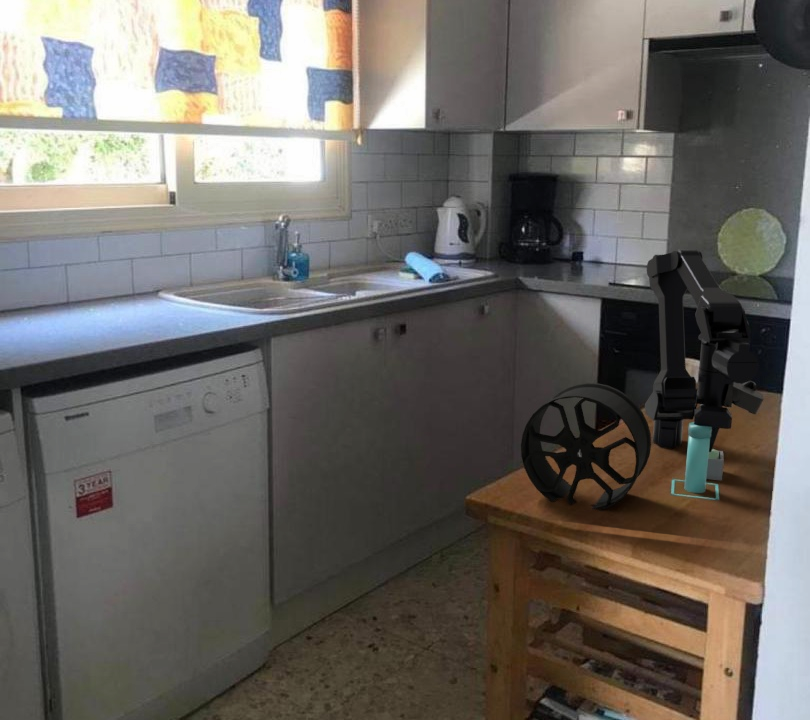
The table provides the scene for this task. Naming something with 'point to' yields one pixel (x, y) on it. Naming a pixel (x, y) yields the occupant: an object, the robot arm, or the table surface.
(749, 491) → the table surface
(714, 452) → the button
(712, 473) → the button housing
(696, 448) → the teal round-topped cylinder
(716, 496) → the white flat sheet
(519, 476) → the table surface
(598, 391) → the car wheel rim
